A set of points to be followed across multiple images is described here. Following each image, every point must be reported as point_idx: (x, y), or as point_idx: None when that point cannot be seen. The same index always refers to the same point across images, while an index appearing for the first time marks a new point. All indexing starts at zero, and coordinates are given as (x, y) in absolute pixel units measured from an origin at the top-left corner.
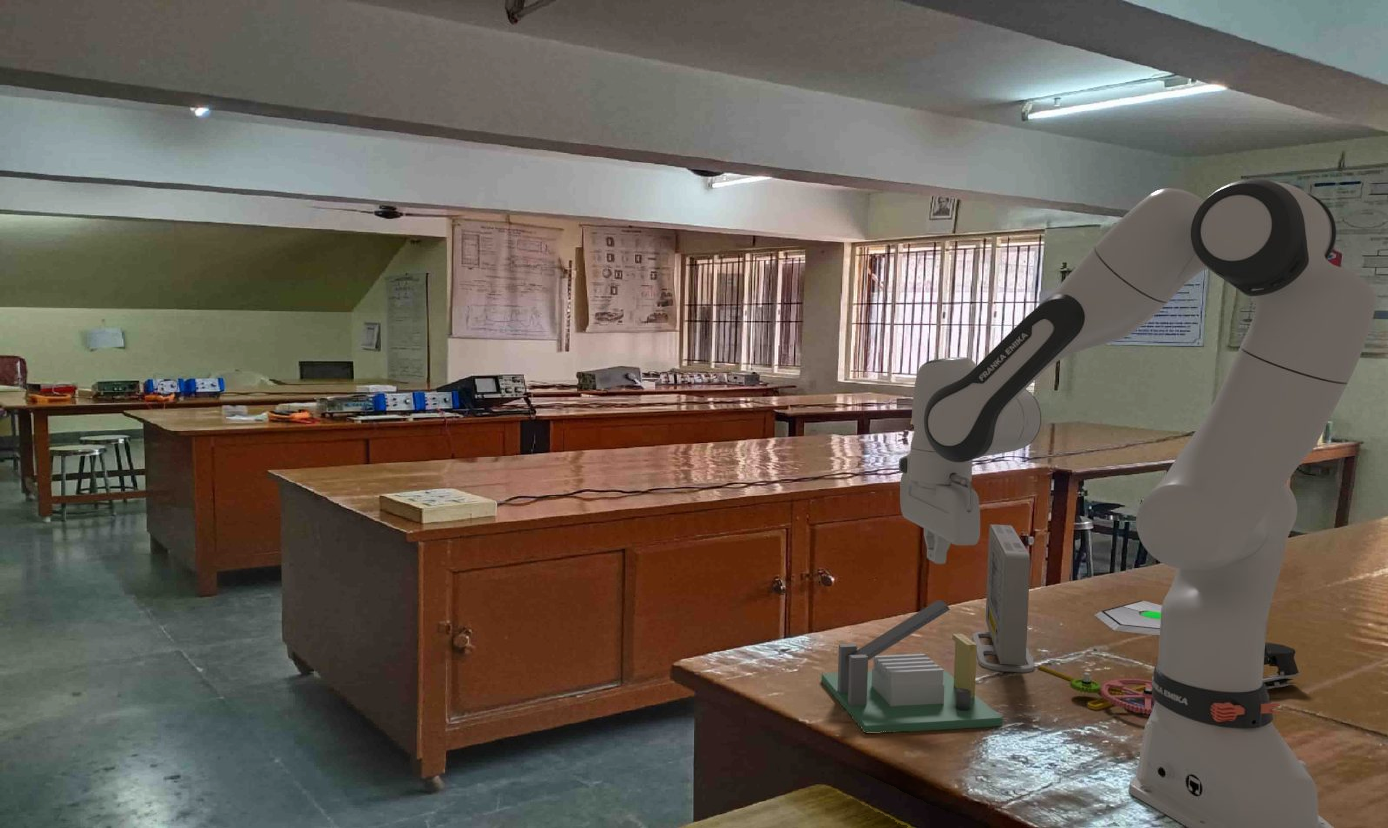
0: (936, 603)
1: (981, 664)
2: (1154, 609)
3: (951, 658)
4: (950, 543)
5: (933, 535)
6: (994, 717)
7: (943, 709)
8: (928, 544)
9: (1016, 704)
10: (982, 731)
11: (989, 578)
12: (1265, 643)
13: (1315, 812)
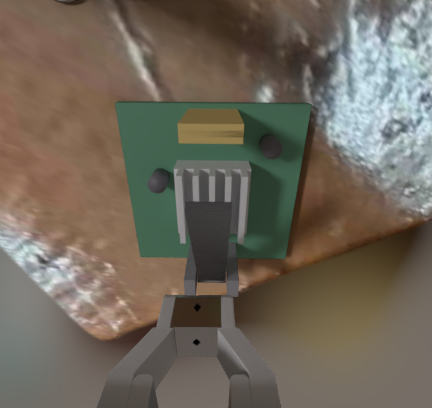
0: (196, 217)
1: (66, 1)
2: None
3: (36, 46)
4: (268, 366)
5: (155, 397)
6: (307, 115)
7: (266, 169)
8: (167, 369)
9: (244, 35)
10: (314, 137)
11: None
12: None
13: None
